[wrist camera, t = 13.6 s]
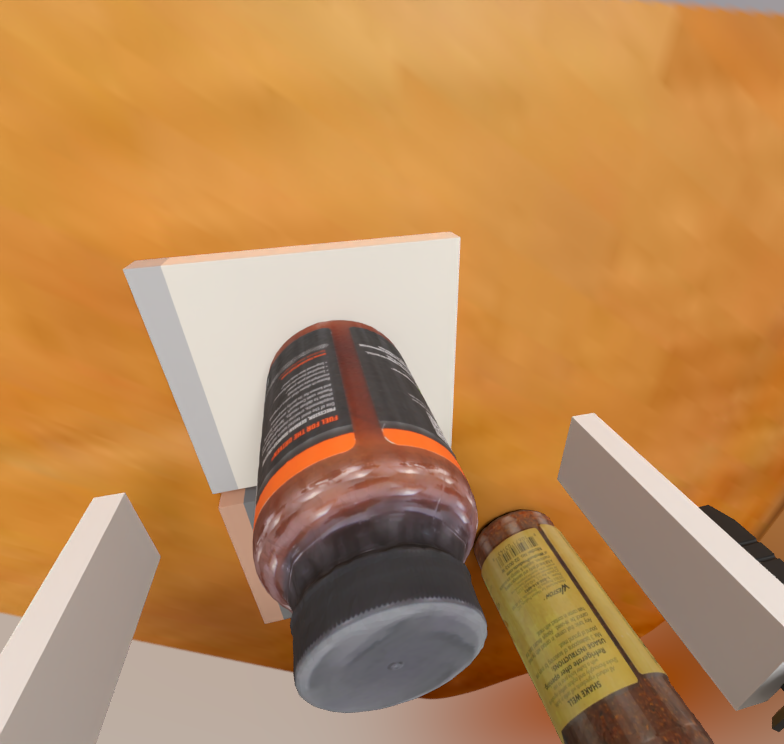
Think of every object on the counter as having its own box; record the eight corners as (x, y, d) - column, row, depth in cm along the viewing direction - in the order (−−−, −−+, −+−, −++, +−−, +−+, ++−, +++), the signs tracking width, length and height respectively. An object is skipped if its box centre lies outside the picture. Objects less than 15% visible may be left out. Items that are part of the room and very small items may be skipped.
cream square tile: (449, 231, 16) (460, 237, 15) (443, 435, 22) (451, 449, 21) (135, 260, 14) (122, 269, 13) (216, 476, 20) (212, 494, 19)
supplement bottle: (247, 410, 17) (187, 749, 7) (299, 290, 15) (309, 547, 5) (367, 444, 19) (439, 732, 10) (426, 344, 17) (590, 588, 8)
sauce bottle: (460, 565, 29) (695, 1156, 12) (484, 505, 26) (839, 1172, 9) (536, 558, 30) (834, 1062, 14) (566, 501, 28) (991, 1052, 11)
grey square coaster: (443, 448, 22) (450, 462, 21) (439, 564, 28) (445, 579, 27) (222, 490, 20) (218, 507, 19) (266, 605, 26) (264, 623, 25)
